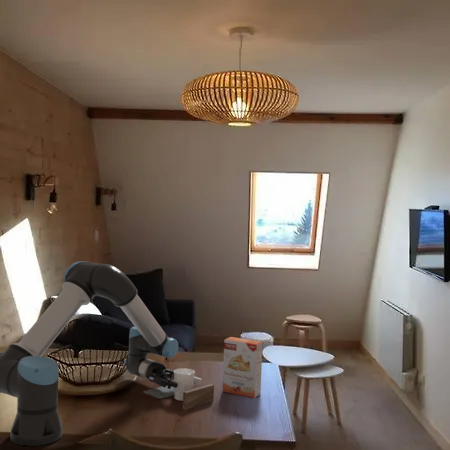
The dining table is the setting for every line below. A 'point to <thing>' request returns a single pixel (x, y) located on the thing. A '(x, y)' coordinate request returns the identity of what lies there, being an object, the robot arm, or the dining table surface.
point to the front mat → (160, 392)
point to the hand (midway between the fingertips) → (192, 384)
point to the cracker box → (242, 367)
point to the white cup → (185, 377)
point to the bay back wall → (198, 396)
